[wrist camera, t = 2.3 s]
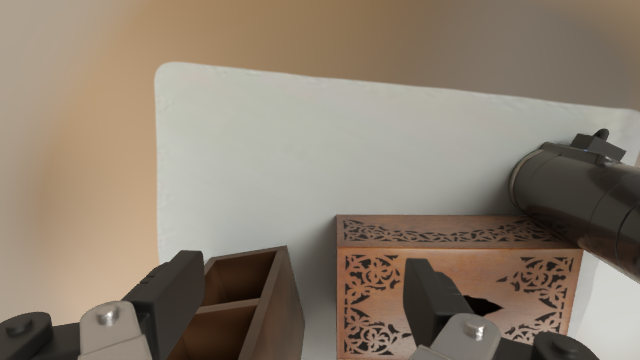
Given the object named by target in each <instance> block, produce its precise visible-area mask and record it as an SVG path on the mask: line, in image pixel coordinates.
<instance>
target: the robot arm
mask: <svg viewBox="0 0 640 360" xmlns="http://www.w3.org/2000/svg"><path fill="white" fill-rule="evenodd" d="M608 135H609V131H608V130H607V129H600V130H599V131H597V132H596V133H595V134H594V135H593V136H590V135H583V134H577V136H576V137H575V139H574V140H573V142H572V143H571V145H570V146H569V147H568V146H564V145H559V144H554V143H550V142H545V143H544V144H543V146H542V147H541V149H539V150H536V151H534V152H532V153H530V154H528V155H527V156H526V157H524V158H523V159H522V160H521V161H520V162H519V163H518V165H517V166H516V167H515V169H514V171H513V173H512V175H511V178H510V182H509V193H510V197H511V200H512V202H513V203H514V205H515V206H516V207H517V208H518V209H519V210H520V211H521V212H523V213H524V214H526V215H528V216H530V217H531V218H533V219H535V220H537V221H539V222H540V223H542V224H543V225H545V226H547V227H548V228H550V229H552V230H553V231H555V232H556V233H558V234H560V235H561V236H563V237H564V238H566V239H568V240H569V241H571V242H573V243H574V244H576V245H577V246H579V247H581V248H582V249H584V250H586V251H587V252H589V253H590V254H592V255H594V256H595V257H597V258H598V259H600V260H602V261H603V262H605V263H607V264H608V265H610V266H611V267H613V268H615V269H616V270H618V271H619V272H621V273H623V274H625V275H626V276H628V277H629V278H631V279H632V280H634V281H636V282H637V283H639V284H640V168H637V167H633V166H629V165H626V164H623V163H621V162H620V160H621V159H622V157H623V156H624V154H625V153H626V151H625V150H623V149H621V148H618V147H616V146H614V145H612V144H610V143H608V142H606V140H607V138H608ZM204 295H205V276H204V261H203V254H202V252H201V251H189V250H181V251H180V252H179V253H178V254H177V255H176V256H175V257H174V258H173V259H172V260H171V261H170V262H165V263H164V264H162V265H160V266H158V267H156V268H154V269H153V270H152V271H151V272H150V273H149V274H148V275H147V276H146V277H145V278H144V279H142V280H141V281H140V284H137V285H136V286H135V287H134V288H133V289H132V290H131V291H130V292H129V293H128V294H127V295H126V296H125V297H124V298H123V299H122V300H120V301H111V302H107V303H104V304H101V305H98V306H96V307H94V308H92V309H90V310H89V311H87V312H86V313H85V314H84V315H83V316H82V317H81V319H80V322H78V323H72V324H66V325H60V326H53V327H52V322H51V317H50V315H49V314H47V313H44V312H31V313H26V314H22V315H18V316H15V317H13V318H10V319H8V320H6V321H3V322H2V323H0V360H166V359H167V357H168V356H169V354H170V353H171V351H172V350H173V348H174V346H175V345H176V343H177V342H178V340H179V339H180V337H181V335H182V334H183V332H184V331H185V329H186V328H187V326H188V324H189V323H190V321H191V320H192V318H193V317H194V315H195V313H196V312H197V310H198V309H199V307H200V306H201V304H202V302H203V299H204ZM403 308H404V312H405V315H406V318H407V321H408V324H409V327H410V330H411V333H412V336H413V339H414V342H415V345H416V347H417V349H416V350H415V351H414V353H413V354H412V355H411V357H410V358H409V359H408V360H599V359H598V358H597V357H596V355H595V354H594V353H593V352H592V351H591V350H590V349H589V348H587V347H586V346H585V345H583V344H582V343H580V342H579V341H576V340H575V339H573V338H571V337H568V336H566V335H562V334H559V333H554V332H541V333H538V334H536V335H535V337H534V340H533V345H530V344H526V343H522V342H517V341H513V340H510V339H506V338H503V337H501V332H500V330H499V328H498V327H497V326H496V325H495V324H494V323H492V322H491V321H489V320H488V319H486V318H483V317H481V316H478V315H475V313H474V312H473V310H472V309H471V307H470V306H469V304H468V303H467V301H466V300H465V298H464V297H463V296H462V294H461V292H460V291H459V289H457V286H456V285H455V283H454V282H453V280H452V279H451V278H450V277H448V276H447V275H445V274H444V273H443V272H436V271H434V269H433V268H432V266H431V264H430V263H429V261H428V259H426V258H407V259H406V263H405V273H404V285H403Z"/></svg>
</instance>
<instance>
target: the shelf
mask: <svg viewBox="0 0 640 360" xmlns="http://www.w3.org/2000/svg"><path fill="white" fill-rule="evenodd" d="M204 276H205V295H204V299H203V302H202V304H201V306H200V307H199V309H198V310H197V312H196V313H195V315H194V317H193V318H192V320H191V321H190V323H189V324H188V326H187V328H186V329H185V331H184V332H183V334H182V335H181V337H180V339H179V340H178V342H177V343H176V345H175V346H174V348H173V350H172V351H171V353H170V354H169V356H168V357H167V359H166V360H301V353H302V345H303V337H304V329H305V322H304V317H303V313H302V309H301V305H300V300H299V296H298V292H297V287H296V283H295V279H294V274H293V270H292V266H291V262H290V257H289V253H288V249H287V245H286V246H280V247H274V248H268V249H262V250H255V251H249V252H243V253H237V254H231V255H225V256H218V257H212V258H210V259H209V261H208V262H207V264H206V265H205V266H204Z"/></svg>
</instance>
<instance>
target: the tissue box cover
mask: <svg viewBox="0 0 640 360" xmlns="http://www.w3.org/2000/svg"><path fill="white" fill-rule="evenodd" d="M583 251H584V249H582V248H581V247H579V246H577V245H576V244H574V243H573V242H571V241H569V240H568V239H566V238H564V237H563V236H561V235H560V234H558V233H556V232H555V231H553V230H552V229H550V228H548V227H547V226H545V225H543V224H542V223H540V222H539V221H537V220H535V219H533V218H531V217H530V216H500V215H336V332H337V359H342V360H408V359H409V358H410V357H411V355H412V354H413V353H414V351H415V350H416V349H417V347H416V345H415V342H414V339H413V336H412V333H411V330H410V327H409V324H408V321H407V318H406V315H405V312H404V308H403V285H404V273H405V263H406V259H407V258H426V259H428V261H429V263H430V264H431V266H432V268H433V269H434V271H436V272H443V273H444V274H445V275H447V276H448V277H450V278H451V279H452V280H453V282H454V283H455V285H456V286H457V289H459V291H460V292H461V294H462V296H463V297H464V298H465V300H466V301H467V303H468V304H469V306H470V307H471V309H472V310H473V312H474V313H475V315H478V316H481V317H483V318H486V319H488V320H489V321H491V322H492V323H494V324H495V325H496V326H497V327H498V328H499V330H500V332H501V337H503V338H506V339H510V340H513V341H517V342H522V343H526V344H530V345H533V340H534V337H535V335H536V334H538V333H541V332H554V333H559V334H562V335H566V336H567V332H568V327H569V322H570V317H571V312H572V307H573V302H574V297H575V291H576V286H577V281H578V276H579V271H580V266H581V261H582V256H583Z"/></svg>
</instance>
